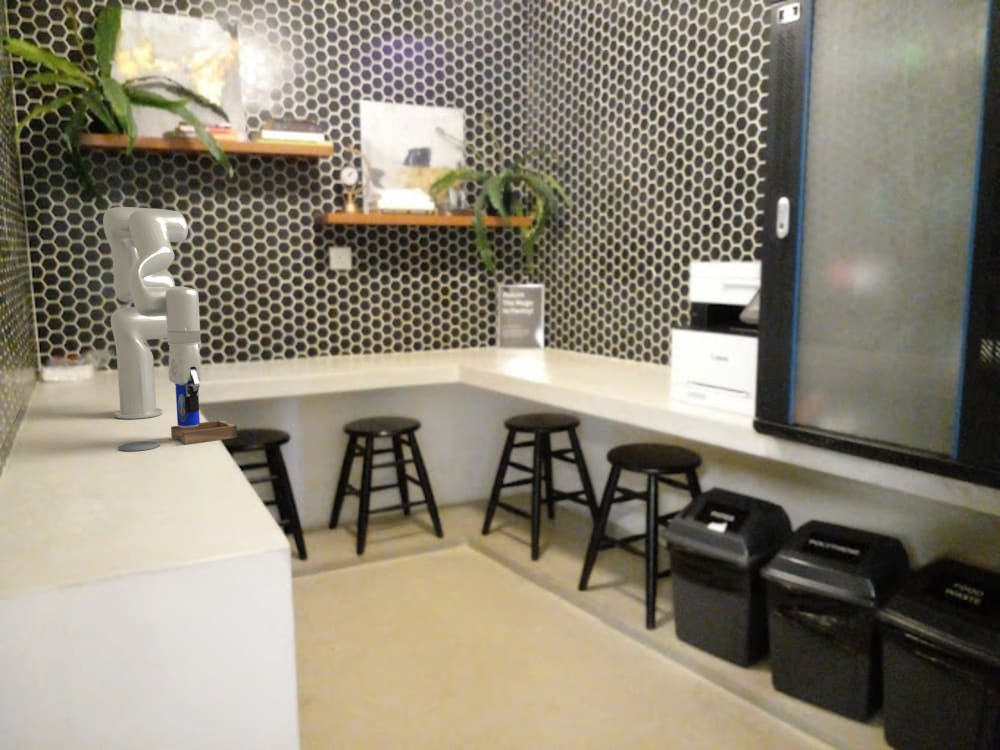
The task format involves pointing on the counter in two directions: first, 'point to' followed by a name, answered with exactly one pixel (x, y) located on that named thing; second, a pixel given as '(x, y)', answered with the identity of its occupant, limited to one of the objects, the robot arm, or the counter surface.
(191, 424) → the beverage can
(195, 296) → the robot arm
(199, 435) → the brown hollow open frame
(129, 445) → the pad
